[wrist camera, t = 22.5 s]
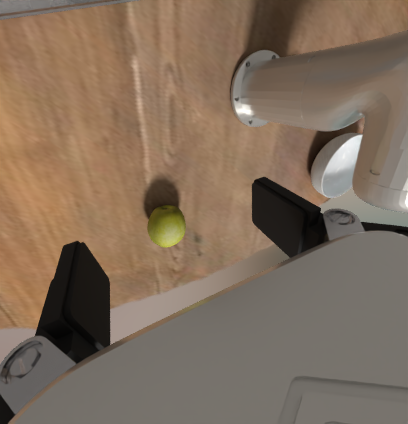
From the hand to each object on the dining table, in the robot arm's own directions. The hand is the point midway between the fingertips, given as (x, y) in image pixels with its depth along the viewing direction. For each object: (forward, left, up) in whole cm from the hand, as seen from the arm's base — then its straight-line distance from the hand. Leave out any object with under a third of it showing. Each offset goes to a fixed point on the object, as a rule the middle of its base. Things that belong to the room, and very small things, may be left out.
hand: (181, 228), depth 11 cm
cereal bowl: (-48, +21, -29) cm, 60 cm away
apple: (0, +18, -29) cm, 35 cm away
